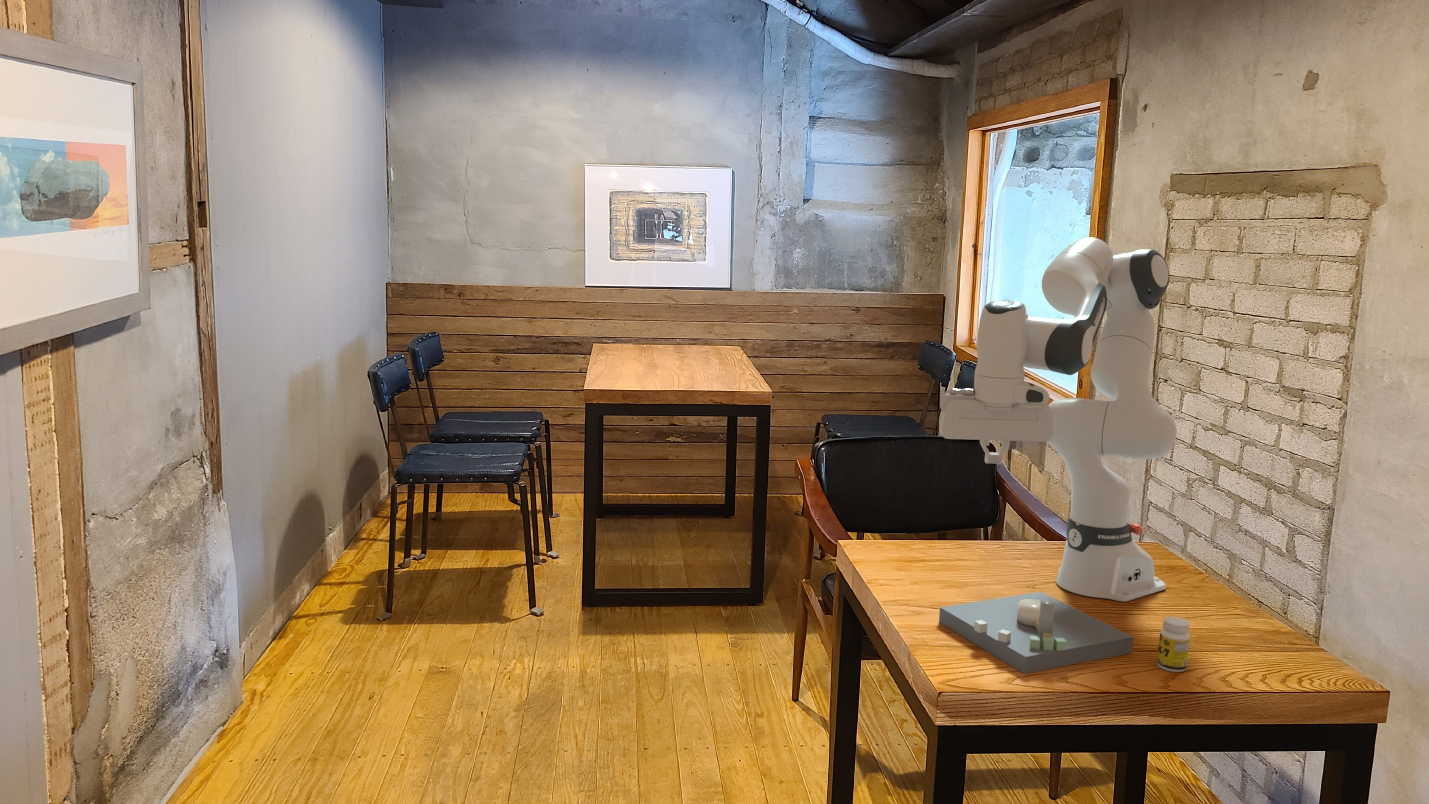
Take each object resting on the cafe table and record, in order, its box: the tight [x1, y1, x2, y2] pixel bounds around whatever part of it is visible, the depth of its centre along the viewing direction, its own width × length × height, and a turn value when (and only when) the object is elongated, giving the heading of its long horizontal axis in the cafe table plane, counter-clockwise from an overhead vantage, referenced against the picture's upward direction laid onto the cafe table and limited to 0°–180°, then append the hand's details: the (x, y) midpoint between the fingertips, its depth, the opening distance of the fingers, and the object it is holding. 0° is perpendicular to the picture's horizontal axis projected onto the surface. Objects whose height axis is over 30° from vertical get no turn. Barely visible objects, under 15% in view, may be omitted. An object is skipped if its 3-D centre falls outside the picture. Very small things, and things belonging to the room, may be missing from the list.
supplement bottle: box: [1156, 616, 1191, 673], centre depth 187 cm, size 5×5×8 cm
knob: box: [1017, 599, 1055, 638], centre depth 195 cm, size 13×6×6 cm, turn 177°
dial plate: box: [938, 591, 1134, 675], centre depth 199 cm, size 25×24×5 cm
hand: (993, 462), depth 203 cm, fingers closed
